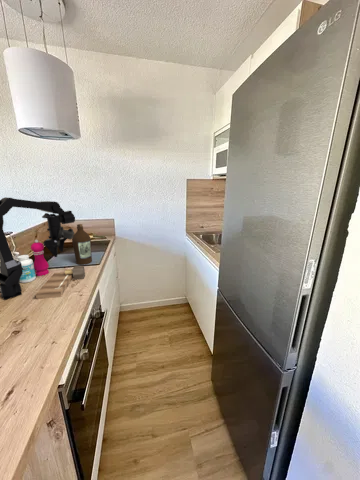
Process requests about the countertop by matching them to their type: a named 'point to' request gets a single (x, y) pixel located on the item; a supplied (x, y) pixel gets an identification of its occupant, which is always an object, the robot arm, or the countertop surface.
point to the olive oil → (82, 246)
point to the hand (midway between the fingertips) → (59, 254)
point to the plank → (55, 286)
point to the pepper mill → (39, 259)
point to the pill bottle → (27, 269)
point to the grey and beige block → (77, 272)
